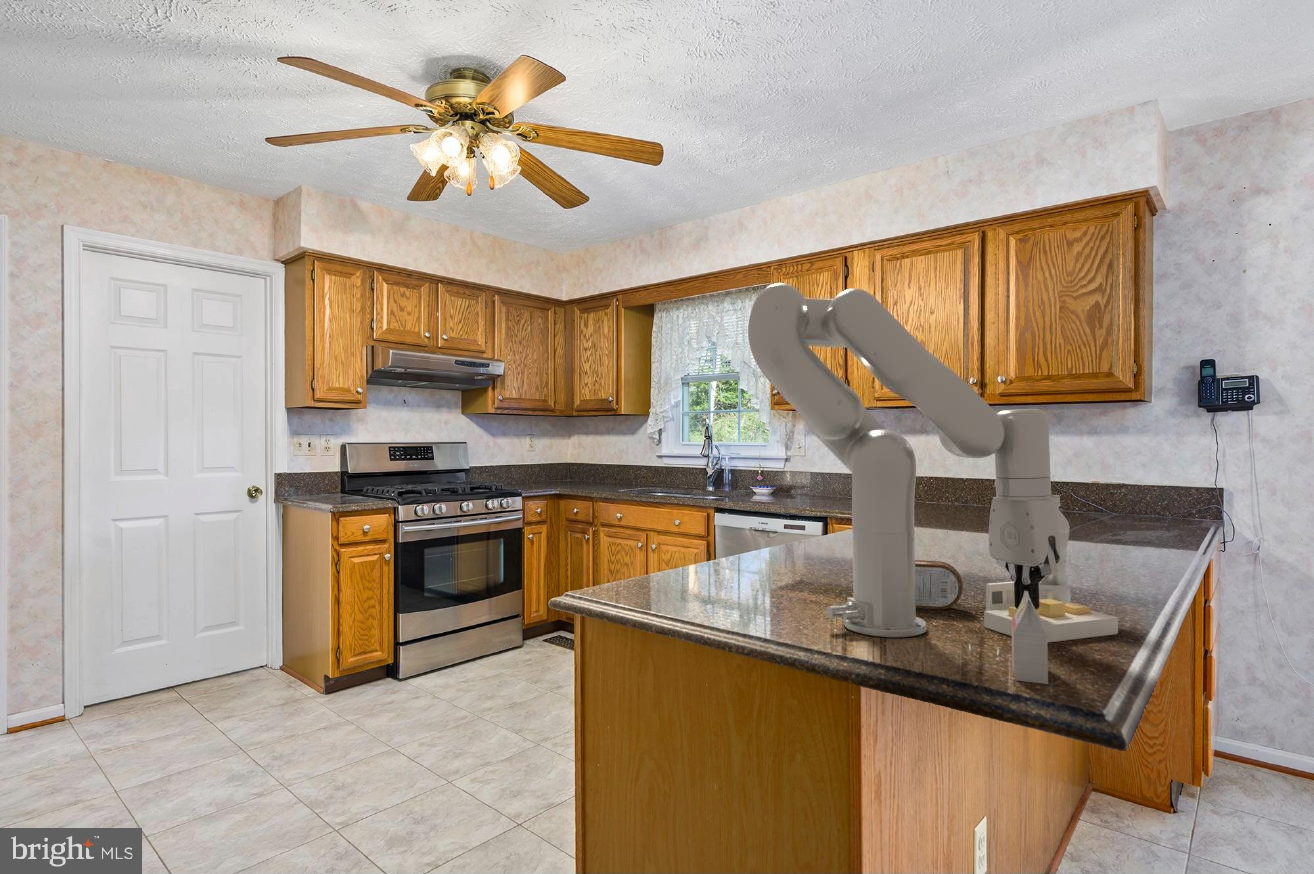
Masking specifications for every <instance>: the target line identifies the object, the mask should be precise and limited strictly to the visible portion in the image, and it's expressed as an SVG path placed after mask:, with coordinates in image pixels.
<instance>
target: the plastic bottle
mask: <svg viewBox="0 0 1314 874" xmlns="http://www.w3.org/2000/svg"><path fill="white" fill-rule="evenodd" d="M1051 499H1053V500H1054V504H1055V507H1056V512H1057V517H1058V523H1059V531H1060V543H1061V556H1060V561H1059V563H1057V564H1056V566H1057V570H1058V573H1057V574H1053V575H1046V576H1045V577H1044V578H1043V580H1042V583H1039V600H1042V599H1052V600H1056V601H1060V602H1064V603H1065V604H1066V603H1071V597H1072V596H1071V590H1070V589H1071V588H1070V586H1069V582H1068V571H1067V553H1068V552H1067V551H1068V550H1067V549H1068V543H1069V538H1070V528H1071V526H1070V524H1069V521H1068V520H1067V518H1066V516H1065V515H1064V514H1063V513H1062V512H1061V511H1060V509H1059V507H1061V505H1062V503H1061V497H1060V495H1058V494H1057V495H1055V494H1051ZM1032 570H1033V569H1032Z"/></svg>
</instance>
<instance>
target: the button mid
mask: <svg viewBox="0 0 1314 874" xmlns="http://www.w3.org/2000/svg"><path fill="white" fill-rule="evenodd" d="M1038 610H1039V615H1041V616H1045V617H1048V618H1055V617H1064V616H1065V603H1064V602H1060V601H1056V600H1052V599H1042V600H1039V608H1038Z"/></svg>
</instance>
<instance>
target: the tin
mask: <svg viewBox="0 0 1314 874" xmlns="http://www.w3.org/2000/svg"><path fill="white" fill-rule="evenodd" d="M963 584H964V583H963V579H962V576H961V574H960V572H959V571H958V570H957V569H956V568H955V567H954V566H952V565H951V564H949V563H947V562H945V561H941V560H924V559H915V585H916V609H925V610H926V609H927V610H938V611H940V610H942V611H943V610H946V609H947V610H948V609H950V608H952V607H954V606H955V605H956V604H957V603H958V602H959V601H960V599H961V598H962V594H963V590H964V587H963V586H964V585H963Z"/></svg>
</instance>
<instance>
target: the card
mask: <svg viewBox="0 0 1314 874" xmlns="http://www.w3.org/2000/svg"><path fill="white" fill-rule="evenodd" d="M1008 607H1015V599H1014V582H1012V581H1004V582H1003V581H1002V582H1001V581H1000V582H989V583H985V611H993V610H1002V609H1008Z"/></svg>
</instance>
